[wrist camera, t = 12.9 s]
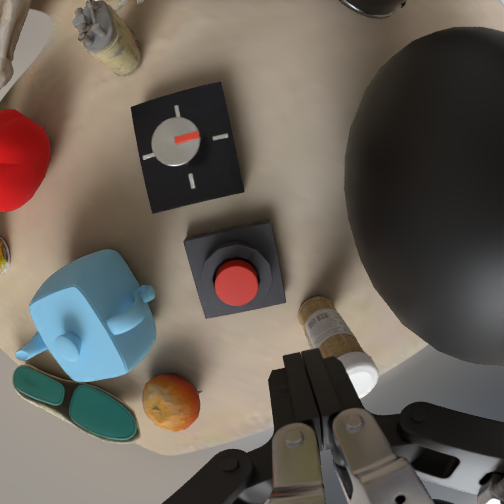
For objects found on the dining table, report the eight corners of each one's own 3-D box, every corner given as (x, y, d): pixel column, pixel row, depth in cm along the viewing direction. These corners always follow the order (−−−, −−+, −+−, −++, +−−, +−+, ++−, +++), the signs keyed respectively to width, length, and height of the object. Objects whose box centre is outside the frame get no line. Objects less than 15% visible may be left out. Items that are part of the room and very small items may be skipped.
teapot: (37, 277, 29) (-15, 313, 18) (140, 228, 29) (91, 260, 18) (79, 353, 33) (43, 404, 22) (184, 325, 32) (165, 390, 21)
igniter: (186, 237, 29) (179, 245, 26) (269, 219, 29) (273, 225, 26) (207, 311, 32) (204, 327, 29) (283, 296, 32) (289, 310, 28)
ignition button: (211, 263, 27) (209, 270, 25) (252, 255, 27) (253, 261, 25) (221, 300, 28) (220, 309, 26) (260, 292, 28) (262, 301, 26)
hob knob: (168, 172, 25) (155, 172, 20) (159, 132, 23) (145, 124, 19) (210, 160, 24) (204, 158, 20) (200, 120, 23) (193, 110, 19)
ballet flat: (147, 404, 34) (152, 413, 39) (20, 344, 32) (37, 362, 38) (133, 454, 28) (141, 456, 33) (2, 384, 26) (22, 398, 32)
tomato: (74, 183, 27) (10, 193, 16) (16, 217, 27) (-41, 237, 16) (55, 96, 23) (-3, 78, 13) (0, 139, 24) (-55, 139, 13)
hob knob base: (140, 112, 25) (130, 106, 22) (222, 90, 25) (220, 80, 22) (160, 210, 28) (151, 214, 25) (243, 190, 28) (244, 192, 25)
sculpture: (7, -47, 4) (51, -78, 4) (45, -16, 18) (87, -38, 18) (-73, 91, 8) (-47, 58, 8) (-9, 107, 22) (28, 88, 21)
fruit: (192, 423, 35) (161, 446, 28) (159, 384, 38) (123, 399, 30) (225, 397, 34) (195, 422, 27) (187, 355, 36) (151, 369, 29)
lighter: (104, 39, 22) (65, 4, 12) (132, 24, 22) (100, -18, 12) (117, 81, 24) (74, 51, 14) (147, 65, 24) (113, 27, 14)
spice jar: (302, 332, 33) (332, 411, 20) (293, 301, 32) (324, 377, 19) (336, 320, 33) (380, 392, 20) (330, 289, 32) (379, 356, 19)
